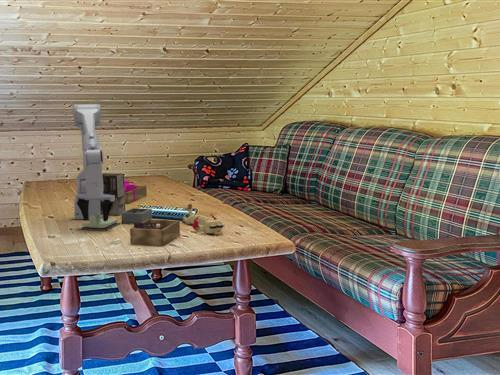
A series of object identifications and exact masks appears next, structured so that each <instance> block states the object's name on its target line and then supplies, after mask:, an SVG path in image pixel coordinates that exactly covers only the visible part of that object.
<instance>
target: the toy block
mask: <svg viewBox="0 0 500 375" xmlns="http://www.w3.org/2000/svg"><path fill="white" fill-rule="evenodd" d="M124 191H125V192H129V191H133V198H134V202H136V201H135V184H134V183H133V184H132V183H131V184H130V180H126V179H124Z"/></svg>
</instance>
